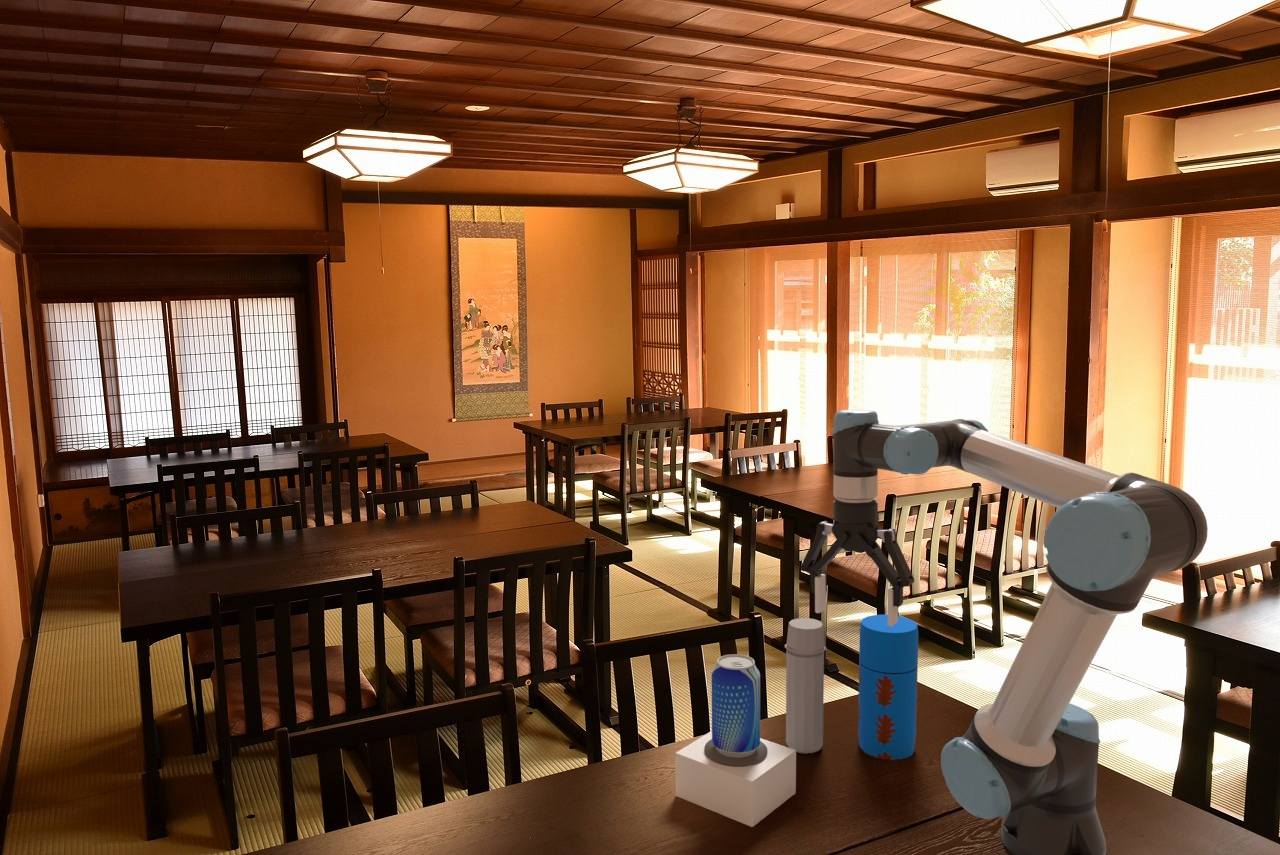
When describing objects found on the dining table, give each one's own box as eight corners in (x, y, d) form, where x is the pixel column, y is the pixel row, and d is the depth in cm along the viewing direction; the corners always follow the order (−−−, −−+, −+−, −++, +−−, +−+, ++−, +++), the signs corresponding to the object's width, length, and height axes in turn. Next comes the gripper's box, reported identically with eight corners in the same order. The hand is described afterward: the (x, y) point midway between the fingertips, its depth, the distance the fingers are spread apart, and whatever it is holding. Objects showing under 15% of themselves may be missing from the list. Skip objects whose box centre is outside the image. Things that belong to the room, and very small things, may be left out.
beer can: (704, 753, 160) (703, 665, 158) (722, 734, 167) (722, 649, 165) (749, 764, 156) (749, 673, 154) (766, 743, 164) (767, 656, 162)
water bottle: (824, 757, 176) (826, 631, 173) (783, 754, 177) (783, 628, 174) (824, 735, 185) (826, 615, 182) (785, 732, 186) (786, 613, 183)
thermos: (856, 756, 176) (858, 630, 173) (859, 731, 186) (861, 612, 183) (915, 763, 173) (918, 635, 170) (915, 738, 183) (918, 617, 180)
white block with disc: (795, 792, 163) (796, 747, 162) (752, 827, 152) (752, 778, 151) (721, 765, 173) (721, 722, 172) (675, 795, 163) (675, 750, 162)
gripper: (933, 501, 156) (933, 623, 158) (800, 489, 171) (801, 601, 173) (917, 508, 150) (917, 635, 152) (781, 495, 165) (782, 611, 167)
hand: (855, 617), depth 162 cm, fingers open, 13 cm apart
